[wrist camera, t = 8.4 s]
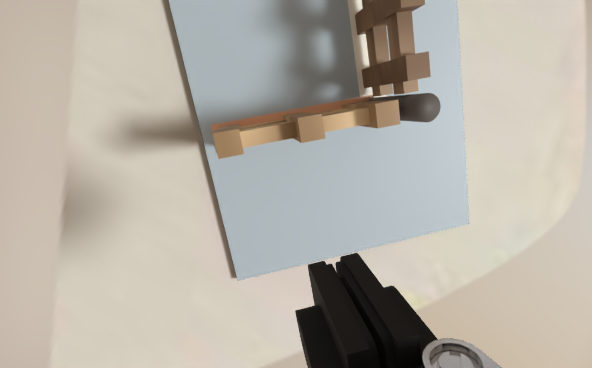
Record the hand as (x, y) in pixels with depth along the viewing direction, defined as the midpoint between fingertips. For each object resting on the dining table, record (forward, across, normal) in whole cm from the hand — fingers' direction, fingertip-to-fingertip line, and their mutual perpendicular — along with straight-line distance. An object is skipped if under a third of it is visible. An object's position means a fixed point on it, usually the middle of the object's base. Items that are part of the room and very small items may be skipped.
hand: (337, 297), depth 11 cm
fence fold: (+12, -1, -4) cm, 13 cm away
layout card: (+13, -4, -4) cm, 15 cm away
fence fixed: (+13, -7, -9) cm, 17 cm away
